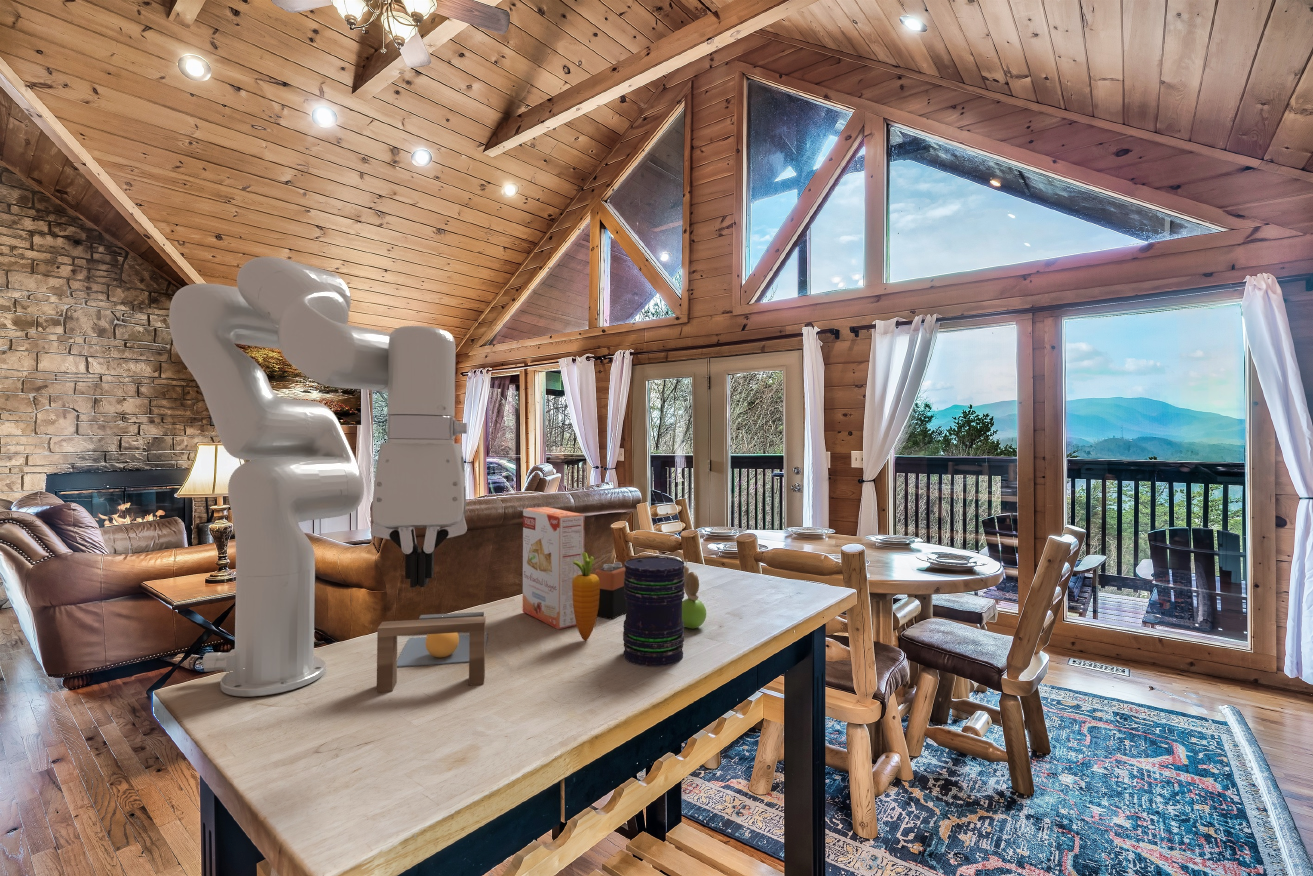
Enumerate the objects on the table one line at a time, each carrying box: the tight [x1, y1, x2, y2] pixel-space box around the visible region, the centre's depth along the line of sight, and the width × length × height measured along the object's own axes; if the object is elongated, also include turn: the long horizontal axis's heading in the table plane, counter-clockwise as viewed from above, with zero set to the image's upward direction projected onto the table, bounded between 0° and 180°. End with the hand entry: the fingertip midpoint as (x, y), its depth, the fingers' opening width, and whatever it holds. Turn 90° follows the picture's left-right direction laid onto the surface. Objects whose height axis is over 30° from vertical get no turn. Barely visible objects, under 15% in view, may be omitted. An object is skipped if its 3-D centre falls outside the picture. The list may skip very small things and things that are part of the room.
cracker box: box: [522, 506, 585, 630], centre depth 116 cm, size 14×6×21 cm, turn 40°
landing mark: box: [397, 632, 489, 668], centre depth 98 cm, size 13×13×1 cm
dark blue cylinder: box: [622, 556, 686, 668], centre depth 97 cm, size 10×10×15 cm
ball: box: [425, 633, 459, 658], centre depth 95 cm, size 5×5×5 cm
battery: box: [594, 561, 626, 620], centre depth 119 cm, size 4×7×10 cm, turn 151°
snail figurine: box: [681, 559, 707, 629], centre depth 112 cm, size 5×6×12 cm
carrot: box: [572, 551, 600, 642], centre depth 103 cm, size 5×5×15 cm
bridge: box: [376, 615, 487, 693], centre depth 84 cm, size 3×14×9 cm, turn 103°
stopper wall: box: [418, 611, 485, 620], centre depth 109 cm, size 11×2×2 cm, turn 103°
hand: (419, 584), depth 72 cm, fingers closed
